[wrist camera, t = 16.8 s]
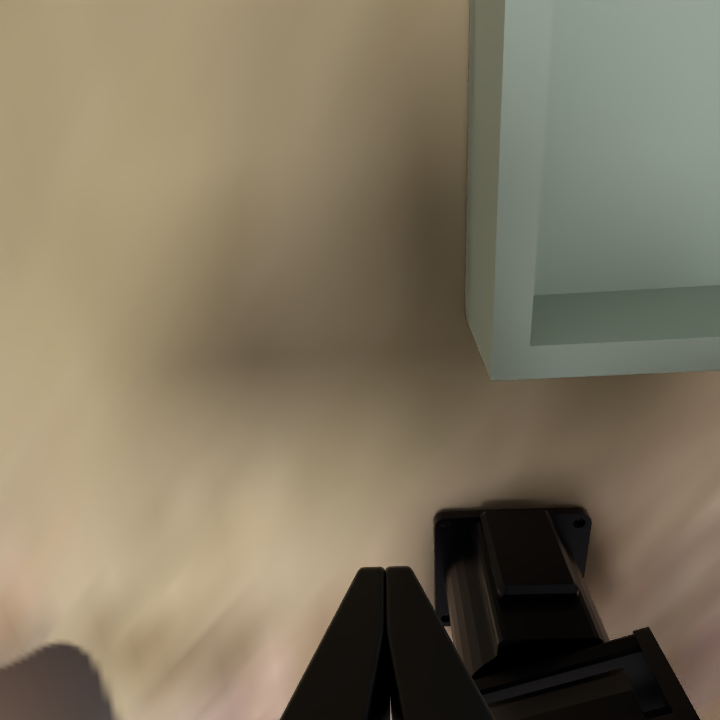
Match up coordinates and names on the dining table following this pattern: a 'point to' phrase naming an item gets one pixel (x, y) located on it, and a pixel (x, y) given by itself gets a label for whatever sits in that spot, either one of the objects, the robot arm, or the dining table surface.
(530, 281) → the grey-green open box
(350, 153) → the dining table surface
